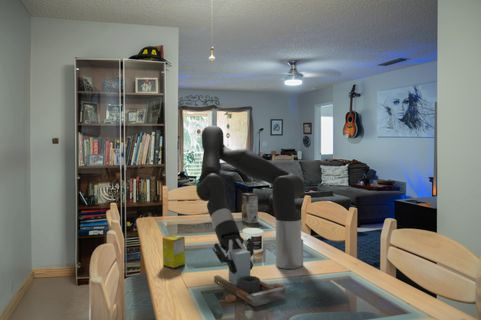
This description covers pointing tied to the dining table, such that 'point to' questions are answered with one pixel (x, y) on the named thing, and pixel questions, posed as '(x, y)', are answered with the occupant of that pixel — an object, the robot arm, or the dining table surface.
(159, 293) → the dining table surface
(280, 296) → the guide channel
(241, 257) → the gray block
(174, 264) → the supplement box
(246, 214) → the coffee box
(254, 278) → the rubber ring
